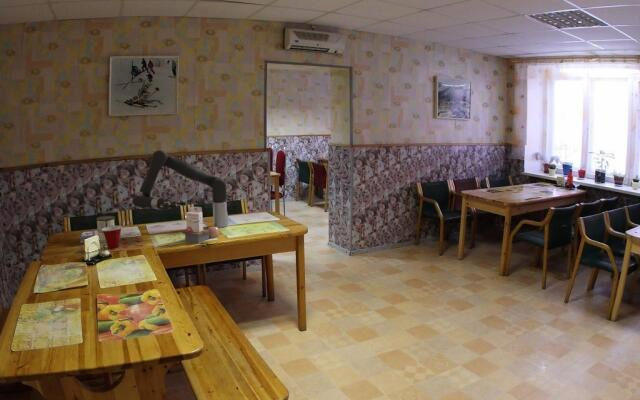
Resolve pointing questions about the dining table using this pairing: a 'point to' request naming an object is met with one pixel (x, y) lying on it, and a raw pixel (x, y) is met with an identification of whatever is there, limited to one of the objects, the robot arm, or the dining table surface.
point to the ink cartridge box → (194, 220)
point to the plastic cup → (112, 236)
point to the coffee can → (104, 225)
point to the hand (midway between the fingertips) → (180, 205)
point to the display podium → (197, 236)
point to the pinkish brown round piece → (213, 232)
